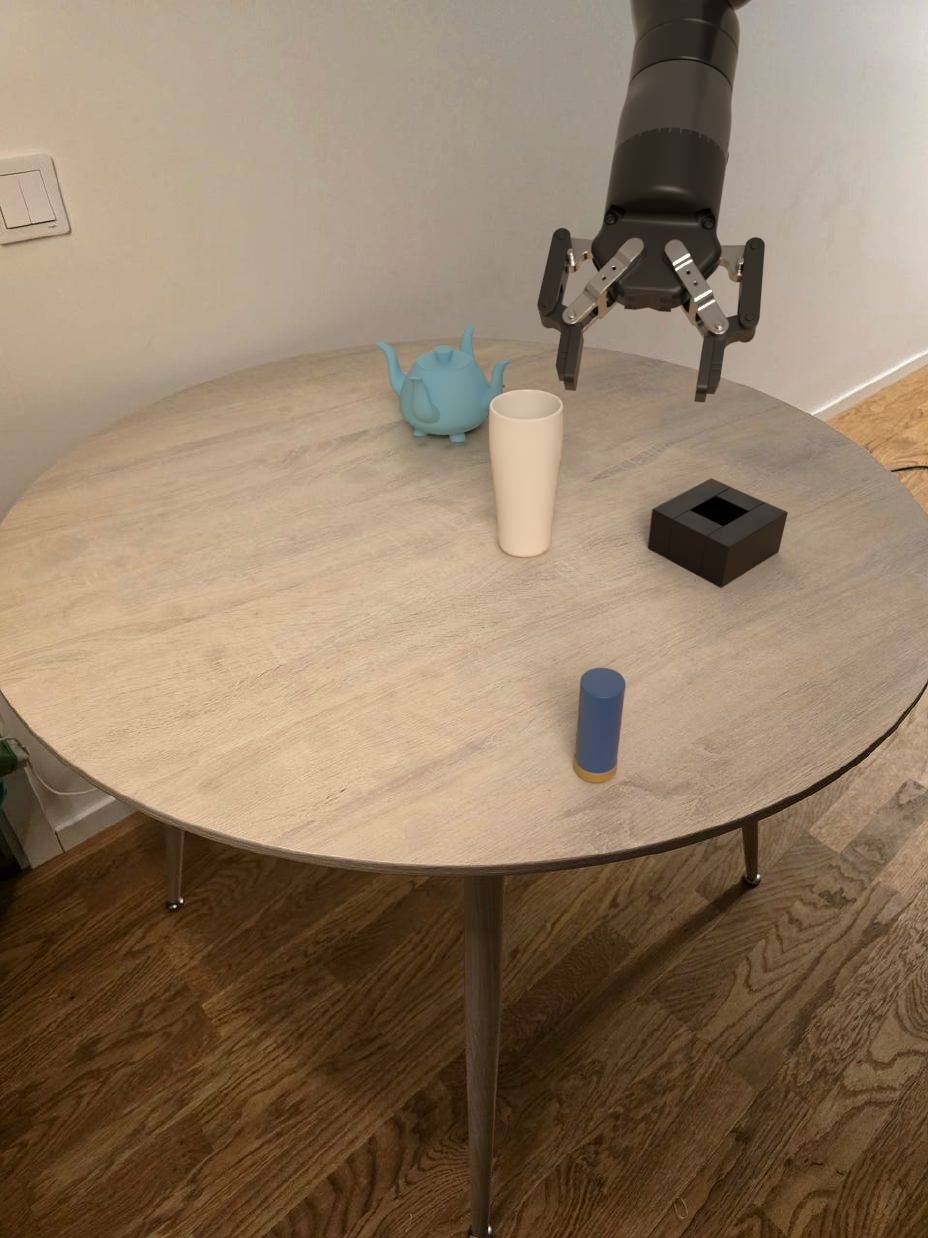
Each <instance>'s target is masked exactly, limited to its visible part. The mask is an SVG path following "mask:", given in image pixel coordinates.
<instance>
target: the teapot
mask: <svg viewBox="0 0 928 1238" xmlns="http://www.w3.org/2000/svg"><path fill="white" fill-rule="evenodd" d="M474 330H475V327H474V325H472V324H470V325H467V326H466V327H465V329H464V330H463V332H462V336H461V340H460V344H459V349H454V347H453V346H451V345H446V344H442V345H437V346H435V347H434V348H433V350H430V351H426V352H423V353H422V354H420V355H419V356H418V357H416V359H415V360H414V361H413V363H412V364H411V366H410V368H409V370H408V371H407V374H405V373H404V371H403V370H402V369H401V366H400V362H399V361H400V360H399V357H398V355H397V353H396V351H395V349H394V348H393V347H392V346H390V345H389V344H387V343H385V342H382V341H375V344H376V346H377V347H379V348H380V349H381V350H382V352H383V353H384V355H385V358H386V361H387V370H388V371H387V372H388V380H389V384H390V387H391V389H392V391H393V392H394V394H395V395H396V396H397V397H398V398H399V399H398V409H399V413H400V415H401V416H402V418H403V419H404V421H406V423H408V424H409V425H410V426H411V427H412V428H414V429H413V431H412V435H413V436H415V437H426V436H428V435H429V434H430V435H438V436H441V435H442V436H446V435H447V436H448V440H449V441H450V442H452V443H463V442H465V441H466V440H467V436H466V432H469V431H472V430H474V429H476V428H478V427H479V426H481V425H482V423H484V421H486V419H487V418H489V406H490V403H491V401H492V400H493V399H494V398H495V397H497V396H498V395H500V394H503V393H504V372H505V369H506V367H507V366H508V365H509V364H510V363H511V362H513V361H514V358H506V359H501V360H498V361H497V362H496V363H495V364H494V365H493V367H492V368H493V369H492V372H491V379H490V382H489V381H488V379H487V377H486V375H485V373H484V371H483V370H482V368H481V367H480V366H479V364H478V362H476V359H475V354H474V347H473V335H474Z"/></svg>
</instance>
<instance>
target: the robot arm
mask: <svg viewBox="0 0 928 1238" xmlns="http://www.w3.org/2000/svg"><path fill="white" fill-rule="evenodd" d="M752 1H753V0H629V7H630V14H631V15H630V16H631V24H632V29H633V34H634V44H633V51H632V56H631V57H632V58H631V63H630V64H631V66H630V70H629V77H628V82H627V90H626V95H625V99H624V103H623V105H622V109H621V111H620V116H619V119H618V124H617V130H616V136H615V143H614V149H613V155H612V161H611V168H610V174H609V181H608V186H607V187H608V188H607V193H606V200H605V206H604V212H603V219H602V224H601V227H600V229H599V231H598V233H597V234H596V236H595V237H594V238H583V237H575V236H571V232H570V230H569V229H568V228H565V227H559V228H557V229H556V230H555V231H554V232H552V236H551V241H550V245H549V250H548V254H547V259H546V263H545V268H544V272H543V277H542V281H541V285H540V290H539V294H538V298H537V304H536V306H537V310H538V314H539V319H540V322H541V325H542V327H544V328H545V329H554V330H556V331H558V332H559V333H560V334H559V335H560V336H559V342H558V348H557V354H556V355H557V356H556V361H555V369H556V373H557V377H558V381H559V382H563V387H564V389H565V390H564V391H571V392H572V391H573V392H576V391H577V387H578V381H579V374H580V368H581V363H582V356H583V350H584V342H585V339H584V334H585V333H586V331H588V329H590V328H591V327H592V326H593V325H594V324H595V323H596V322H597V321H598V320H602V319H603V318H605V316H606V315H607V314H608V313H609V312H610V311H611V310H612V309H613V308H614V307H615V306H617V304H619V305H621V306H623V308H624V309H623V310H633V311H637V310H643V309H651V310H654V311H657V312H662V313H671V312H672V309H677V308H679V307H680V308H681V310H682V312H683V313H684V315H685V316H686V318H687V320H688V321H689V323H690V324H691V325H692V326H694V327H695V328H696V329H697V331H698V334H700V336H701V338H702V347H701V350H700V351H701V352H700V359H699V365H698V371H697V372H698V373H697V380H696V381H697V382H696V386H695V392H694V393H695V394H694V401H693V402H695V403H706V399H707V395H715V394H716V392H717V390H718V388H719V387H720V386H719V385H720V382H721V378H722V377H721V376H722V370H723V362H724V357H725V356H724V355H725V350H726V348H727V347H728V346H730V345H732V344H734V343H738V342H740V343H743V344H744V343H745V344H746V343H750V342H751V341H752V340H753V339H754V338H755V335H756V331H757V327H758V324H759V322H760V319H761V317H760V316H761V306H762V305H761V304H762V290H763V277H764V265H765V263H764V261H765V249H766V248H765V247H766V243H765V241H764V240H763V239H762V238H761V237H757V236H755V237H751V238H749V239H748V240H746V242H745V244H744V245H743V244H741V245H740V244H739V245H738V244H737V245H735V244H734V245H733V244H731V245H729V244H728V245H727V244H726V245H723V244H722V245H721V242H720V240H719V237H718V233H717V232H718V225H719V218H720V211H721V204H722V197H723V191H724V184H725V177H726V170H727V165H728V162H729V158H730V154H729V152H730V151H729V149H730V141H731V133H732V119H733V118H732V117H733V116H732V114H733V113H732V112H733V111H732V107H733V105H732V104H733V103H732V101H733V94H734V88H735V81H736V80H735V79H736V72H737V66H738V60H739V52H740V45H741V44H740V43H741V28H740V21H739V17H738V15H737V13H736V12H737V11H739V10H741V9H743V8H744V7H746V6H747V5H748V4H749V3H751V2H752ZM587 260H591V261H592V264H593V266H594V267H595V270H596V271H597V273H595V275H594V276H593V277H592V278H591V279H590V280H589V281H588V282H587V283H586V284H585V286H584V288H583V291H582V292H581V293H580V294H579V295H578V296H577V297H576V298H575V299H574V300H573V301H572V302H571V303H570V304H568V306H567V305H564V304H563V302H564V297H565V294H566V288H567V284H568V280H569V276H570V274H574V273H576V272H578V271H579V270H580V268H581V265H582V264H583V262H585V261H587ZM719 267H723V268H725V269H726V271H727V273H728V278H729V280H730V281H731V282H734V283H739V285H738V296H737V297H738V298H737V310H736V311H737V312H736V314H734V315H731V316H727V317H726V315H725V314H724V312H723V310H722V309H721V307H720V306H719V304H718V302H717V301H716V299H715V296H714V292H713V290H712V288H711V287H710V285H709V284H708V282H707V280H708V279H709V278H710V277H712V275H713V274H714V273H715V272H716V271H717V269H719Z"/></svg>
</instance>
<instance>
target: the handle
mask: <svg viewBox="0 0 928 1238" xmlns="http://www.w3.org/2000/svg"><path fill="white" fill-rule="evenodd" d="M625 693H626V681H625V678H624V677H623V675H622V674H621V673H619V672H618V671H616V670H614V669H612V668H608V667H594V668H591V669H588V670H587V671H585V672H584V673H583V674H582V675H581V677H580V679H579V695H578V708H577V709H578V710H577V720H576V721H577V722H576V737H575V750H574V751H575V752H574V756H573V769H574V771H575V773H576V775H577V776H578V778H580V779H582V780H583V781H585V782H587V783H592V784H602V783H606V782H608V781H610V780H611V779H612V778H613V777H614V776H616V775H615V774H616V773H617V768H618V756H619V755H618V754H619V745H620V744H619V743H620V738H621V728H622V719H623V710H624V703H625V702H624V701H625Z"/></svg>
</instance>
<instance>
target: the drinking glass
mask: <svg viewBox="0 0 928 1238" xmlns="http://www.w3.org/2000/svg"><path fill="white" fill-rule="evenodd" d="M564 408H565V407H564V402H563V400H562V399H561V398H559V396H557V395H555V394H553V393H552V392H548V391H545V390H539V389H516V390H509V391H506V392H503V393H502V394H500V395H498V396H497V397H495V398H494V399H493V400H492V401H491V403H490V406H489V415H488V449H489V458H490V459H489V460H490V469H491V478H492V486H493V487H492V488H493V495H494V497H493V498H494V507H495V517H496V526H497V527H496V529H497V531H496V532H497V535H496V537H497V544H498V546H499V548H500V549H501V550H502V551H503V553H505V554H508V555H509V556H513V557H517V558H532V557H536V556H539V555H542V554H543V553H545V552H546V551H548V549H549V547H550V546H551V544H552V537H553V521H554V513H555V507H556V506H555V505H556V500H557V499H556V497H557V492H558V485H559V478H560V471H561V464H562V463H561V462H562V454H563V444H564V427H565V426H564V424H565V423H564V422H565V419H564V416H565V415H564V414H565V413H564Z"/></svg>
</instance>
